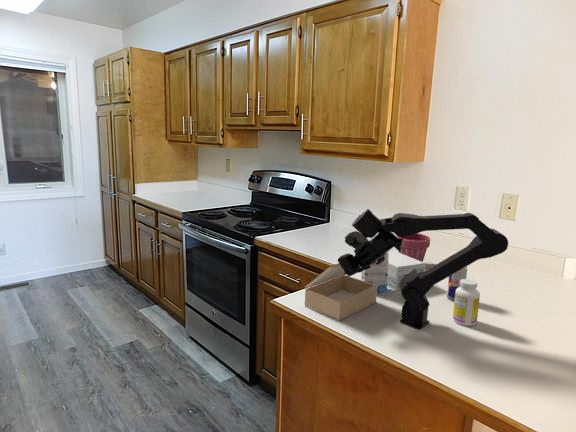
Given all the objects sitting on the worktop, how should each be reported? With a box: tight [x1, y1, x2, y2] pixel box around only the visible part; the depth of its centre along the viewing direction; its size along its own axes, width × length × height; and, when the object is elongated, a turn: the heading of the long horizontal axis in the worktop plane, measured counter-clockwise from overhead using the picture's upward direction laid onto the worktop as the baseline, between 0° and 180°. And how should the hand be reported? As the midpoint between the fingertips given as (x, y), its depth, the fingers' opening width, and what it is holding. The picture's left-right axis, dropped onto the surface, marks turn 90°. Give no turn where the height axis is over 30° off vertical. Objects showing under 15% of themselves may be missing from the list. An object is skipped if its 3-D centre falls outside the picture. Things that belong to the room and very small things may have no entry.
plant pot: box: [395, 233, 431, 262], centre depth 168 cm, size 14×14×13 cm
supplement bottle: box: [452, 278, 481, 327], centre depth 116 cm, size 7×7×13 cm
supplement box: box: [387, 251, 426, 292], centre depth 149 cm, size 17×13×9 cm
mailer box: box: [304, 274, 378, 322], centre depth 127 cm, size 14×20×6 cm
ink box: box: [360, 251, 389, 293], centre depth 139 cm, size 8×5×15 cm, turn 96°
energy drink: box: [446, 266, 468, 302], centre depth 132 cm, size 5×5×12 cm
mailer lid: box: [304, 262, 345, 289], centre depth 127 cm, size 14×20×1 cm
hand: (345, 273), depth 124 cm, fingers closed
